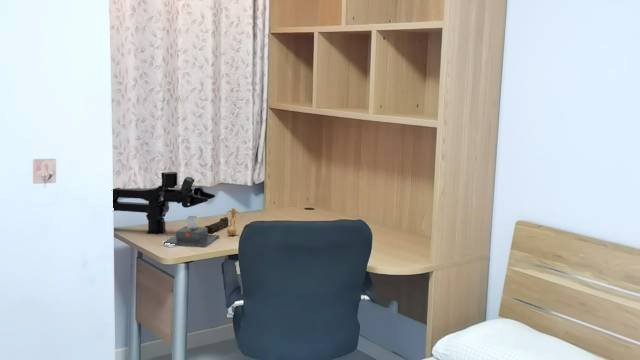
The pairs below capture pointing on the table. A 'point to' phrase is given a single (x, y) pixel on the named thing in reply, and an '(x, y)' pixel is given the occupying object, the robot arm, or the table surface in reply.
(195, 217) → the column
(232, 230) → the figurine
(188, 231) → the stand
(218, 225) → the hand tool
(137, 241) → the table surface
